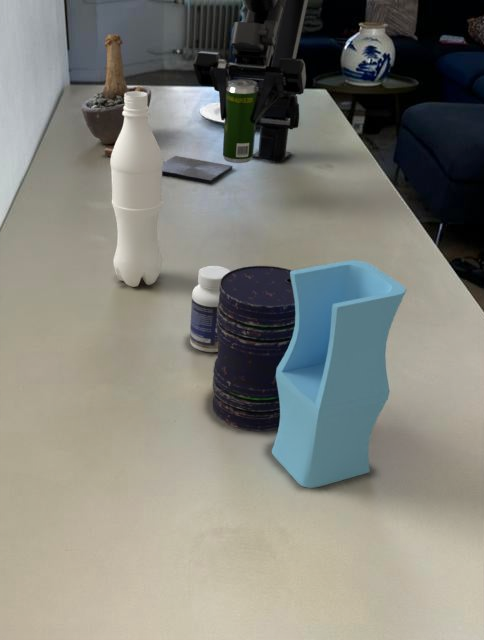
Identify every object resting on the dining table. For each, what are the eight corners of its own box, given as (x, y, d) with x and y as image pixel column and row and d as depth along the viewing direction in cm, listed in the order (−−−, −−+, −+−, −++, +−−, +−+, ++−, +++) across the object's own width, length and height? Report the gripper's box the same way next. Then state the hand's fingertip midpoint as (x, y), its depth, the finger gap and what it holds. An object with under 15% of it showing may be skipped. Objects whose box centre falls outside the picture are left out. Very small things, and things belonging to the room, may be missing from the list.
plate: (291, 133, 173) (292, 123, 172) (200, 131, 173) (200, 122, 172) (281, 109, 189) (282, 100, 187) (198, 108, 189) (198, 99, 188)
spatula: (232, 170, 153) (233, 159, 152) (210, 184, 146) (211, 173, 145) (119, 149, 162) (119, 139, 161) (94, 162, 156) (94, 152, 155)
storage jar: (235, 439, 83) (246, 314, 74) (196, 394, 90) (202, 274, 80) (312, 419, 86) (333, 296, 77) (269, 377, 93) (284, 259, 83)
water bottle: (168, 273, 116) (171, 90, 99) (152, 293, 110) (152, 103, 94) (124, 266, 117) (119, 85, 101) (106, 285, 112) (99, 98, 96)
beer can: (258, 161, 133) (264, 85, 125) (230, 165, 132) (235, 88, 124) (244, 152, 137) (249, 77, 129) (217, 156, 135) (221, 80, 127)
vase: (266, 448, 82) (289, 270, 69) (328, 431, 85) (361, 257, 71) (304, 490, 77) (337, 307, 64) (369, 472, 79) (413, 291, 66)
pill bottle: (218, 357, 97) (223, 285, 90) (182, 346, 99) (184, 274, 92) (238, 340, 100) (244, 269, 94) (202, 329, 102) (206, 259, 96)
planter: (151, 129, 174) (150, 27, 161) (153, 151, 162) (153, 42, 149) (86, 129, 174) (80, 27, 161) (83, 151, 161) (77, 42, 148)
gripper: (198, -6, 124) (175, 86, 123) (311, 1, 119) (288, 96, 119) (210, 40, 135) (189, 125, 134) (314, 48, 130) (293, 136, 130)
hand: (237, 120), depth 129 cm, fingers closed on beer can, 5 cm apart
